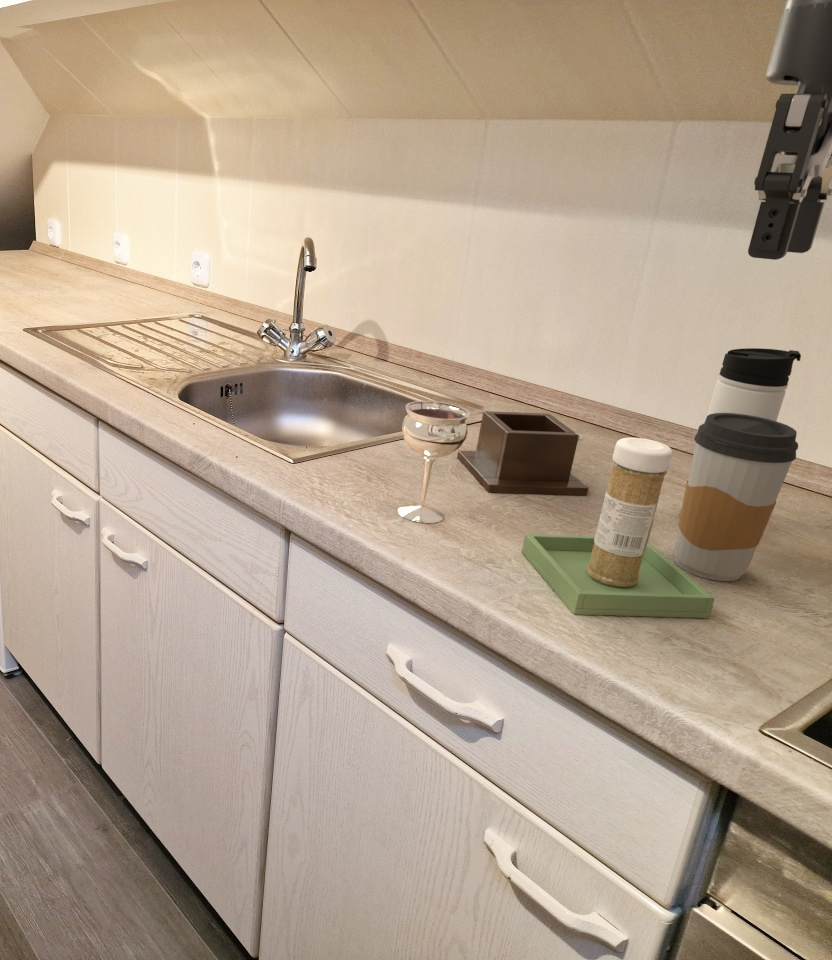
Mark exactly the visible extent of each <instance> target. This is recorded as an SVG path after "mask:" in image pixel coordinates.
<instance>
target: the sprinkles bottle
mask: <svg viewBox="0 0 832 960" xmlns="http://www.w3.org/2000/svg"><path fill="white" fill-rule="evenodd" d="M672 457H673V449H672V448H671V447H670V446H668V445H667V444H665V443H662V442H660V441H656V440H652V439H648V438H641V437H622V438H620V439H618V440H617V441H616V444H615V447H614V449H613V454H612V468H611V471H610V472H611V473H610V476H609V482H608V484H607V488H606V490H605V495H604V499H603V501H602V502H603V503H602V506H601V511H600V515H599V519H598V523H597V527H596V531H595V534H594V536H595V539H594V546H593V550H592V554H591V559H590V563H589V564H588V566H587V573H588V574H589V575H590V576H591V577H592V578H593V579H595V580H596V581H598V582H601V583H603V584H606V585H609V586H613V587H631V586H633V585H635V584H637V583H638V579H639V577H638V574H639V570H640V566H641V563H642V559H643V555H644V552H645V550H646V548H647V544H648V542H649V541H650V536H651V532H652V530H653V529H652V528H653V525H654V518H655V514H656V511H657V507H658V503H659V498H660V496H661V490H662V486H663V483H664V479H665V476H666V474H667V473H668V470H670V465H671V461H672Z"/></svg>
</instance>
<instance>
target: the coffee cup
mask: <svg viewBox="0 0 832 960" xmlns="http://www.w3.org/2000/svg"><path fill="white" fill-rule="evenodd" d="M797 433H798V432H797V430H796V429H795V428H793V427H791V426H789V425H788V424H785V423H783V422H781V421H773V420H770V419H765V418H761V417H756V416H750V415H744V414H735V413H714V414H710V415H708V416H707V415H706V417H705V421H704V423H702V424H700V425H699V426H698V428H697V432H696V434H695V436H694V439H693V440H694V442H695V445H694V450H693V455H692V459H691V466H690V470H689V476H688V480H687V481H686V484H685V490H684V495H683V499H682V503H683V504H682V503H681V506H682V509H681V508H680V509H681V514H680V516H679V518H678V519H679V520H678V525H677V526H678V530H677V535H676V539H675V545H674V550H673V556H674V558H675V560H674V561H675V564H676V565H677V566H678V567H679V568H680V569H681V570H683V571H684V572H686V573H690V574H691V575H694V576H696V577H699V578H703V579H707V580H711V581H719V582H734V581H738V580H740V579H741V578H742V576H744V575H745V574H746V573H747V571H748V569H749V567H750V564H751V561H752V559H753V557H754V555H755V552H756V550H757V547H758V546H759V544H760V543H761V540H762V537H763V536H764V533H765V531H766V529H767V526H768V524H769V521H770V519H771V516H772V514H773V511H774V509H775V506H776V505H777V499H778V496H779V494H780V492H781V490H782V487H783V485H784V481H785V480H786V477H787V475H788V472H789V470H790V468H791V466H792V463H793V461H795V460H796V459H797V450H798V449H799V443H798V442H797V440H796V438H797Z"/></svg>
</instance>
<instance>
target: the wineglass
mask: <svg viewBox="0 0 832 960" xmlns="http://www.w3.org/2000/svg"><path fill="white" fill-rule="evenodd" d="M405 411H406V413H407V414H406V415H405V417H404V418H403V421H402V425H401V427H402V429H401V430H402V431H401V432H402V436H403V440H404V442H405V443H406V444H407V445H408V446H409V448H410V449H411V450H412V451H414V452H415V453H417V454H418V455H420V456H421V458H422V459H423V460H424V470H423V478H422V488H421V494H420V495H421V496H420V503H419V504H406V505H402V506H400V507H399V508H398V509H397V512H398V514H399V515H400V516H401V517H402V518H404V519H406V520H409V521H412V522H416V523H422V524H434V523H439V522H441V521H443V520H444V519H445V516H444V514H443V513H442V512H441V511H439V510H438V509H436V508H434V507H431V506H428V505H425V502H426V499H427V498H426V497H427V492H428V488H429V483H430V478H431V473H432V468H433V464H434V462H436V461H437V460H438V459H439V458H442V457H447V456H450V455H451V454H453V453H454V452H456V451H457V450H459V449H460V448H461V447H462V446H463V444H464V442H465V441H466V439H467V437H468V436H467V435H468V426H467V423H466V421H467V418H468V417H469V416H470V415H471V413H470V411H469V410H468V409H466V408H464V407H462V406H459V405H455V404H451V403H448V402H443V401H435V400H416V401H412V402H408V403H407V404H405Z"/></svg>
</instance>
